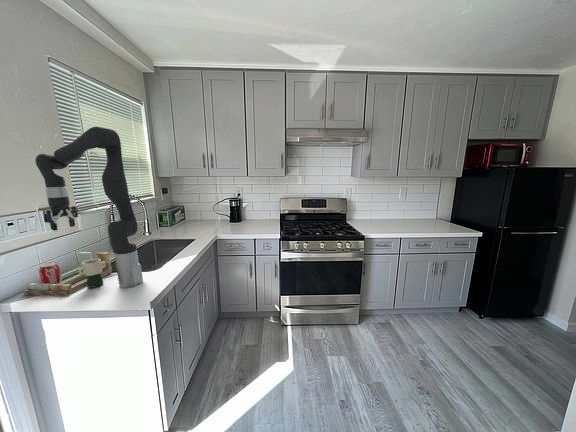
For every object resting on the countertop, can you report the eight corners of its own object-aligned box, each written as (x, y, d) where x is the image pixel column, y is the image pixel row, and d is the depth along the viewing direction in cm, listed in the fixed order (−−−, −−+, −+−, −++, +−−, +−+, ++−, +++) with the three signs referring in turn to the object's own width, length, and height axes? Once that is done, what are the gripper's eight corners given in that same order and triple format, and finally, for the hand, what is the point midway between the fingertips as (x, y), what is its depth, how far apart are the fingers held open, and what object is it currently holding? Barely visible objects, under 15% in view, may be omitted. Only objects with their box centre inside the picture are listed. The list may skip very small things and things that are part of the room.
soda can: (66, 283, 119) (62, 261, 117) (53, 290, 112) (48, 267, 110) (52, 284, 119) (47, 261, 117) (38, 291, 112) (33, 267, 110)
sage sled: (97, 270, 135) (93, 252, 133) (49, 292, 110) (44, 270, 108) (81, 270, 135) (78, 252, 133) (30, 292, 111) (25, 270, 109)
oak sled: (114, 271, 134) (111, 252, 132) (69, 293, 109) (65, 271, 107) (98, 270, 135) (95, 252, 133) (51, 293, 110) (46, 270, 108)
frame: (108, 274, 130) (107, 271, 129) (67, 296, 107) (66, 292, 107) (72, 273, 131) (71, 270, 131) (24, 294, 109) (23, 290, 109)
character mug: (104, 280, 123) (100, 256, 121) (111, 282, 120) (108, 258, 118) (78, 289, 114) (74, 263, 112) (86, 292, 111) (81, 266, 108)
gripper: (49, 197, 108) (56, 232, 111) (78, 194, 122) (84, 225, 125) (34, 197, 108) (41, 231, 111) (65, 194, 122) (71, 225, 125)
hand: (64, 228), depth 118 cm, fingers open, 8 cm apart
